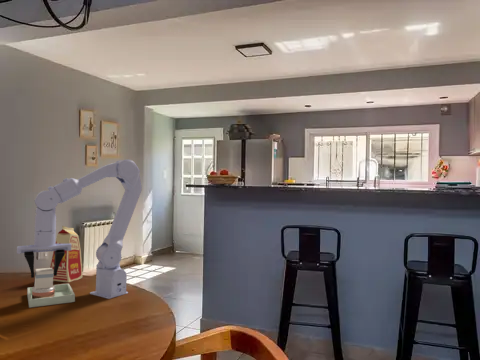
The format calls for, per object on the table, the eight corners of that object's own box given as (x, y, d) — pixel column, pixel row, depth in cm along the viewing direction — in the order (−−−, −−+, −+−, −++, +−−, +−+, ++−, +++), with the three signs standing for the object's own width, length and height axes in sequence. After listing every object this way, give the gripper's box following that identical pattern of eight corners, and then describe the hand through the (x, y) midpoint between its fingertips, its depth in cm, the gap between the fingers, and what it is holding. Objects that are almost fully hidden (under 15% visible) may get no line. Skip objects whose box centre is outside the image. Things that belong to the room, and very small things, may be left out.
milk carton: (69, 283, 136) (70, 227, 136) (46, 281, 138) (47, 225, 138) (84, 277, 145) (85, 224, 145) (62, 275, 147) (64, 223, 147)
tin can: (58, 299, 116) (59, 286, 116) (39, 304, 111) (39, 290, 111) (47, 296, 119) (47, 283, 119) (27, 300, 114) (27, 287, 114)
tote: (74, 303, 115) (74, 294, 115) (28, 308, 108) (29, 300, 108) (68, 291, 127) (68, 283, 127) (27, 295, 120) (27, 287, 121)
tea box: (52, 287, 115) (53, 270, 115) (35, 289, 112) (36, 271, 112) (51, 284, 119) (52, 267, 119) (34, 285, 116) (35, 268, 116)
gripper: (69, 228, 123) (68, 270, 122) (17, 230, 115) (15, 275, 115) (72, 230, 116) (71, 275, 116) (17, 232, 109) (16, 280, 109)
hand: (44, 275), depth 115 cm, fingers open, 5 cm apart
